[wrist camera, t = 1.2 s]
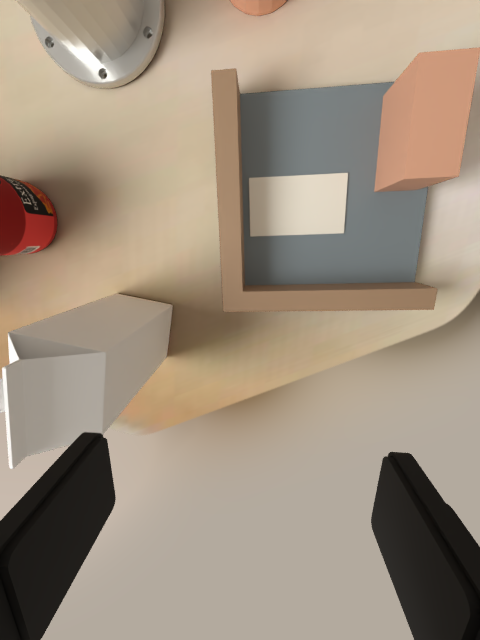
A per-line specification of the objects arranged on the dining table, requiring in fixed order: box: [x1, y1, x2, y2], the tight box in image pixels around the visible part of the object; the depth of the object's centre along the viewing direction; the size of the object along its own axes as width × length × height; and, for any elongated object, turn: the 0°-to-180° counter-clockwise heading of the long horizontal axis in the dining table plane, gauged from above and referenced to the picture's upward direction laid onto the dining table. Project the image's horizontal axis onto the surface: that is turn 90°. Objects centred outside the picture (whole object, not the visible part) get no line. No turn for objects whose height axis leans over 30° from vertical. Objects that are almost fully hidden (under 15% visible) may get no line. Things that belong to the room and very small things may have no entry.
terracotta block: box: [374, 48, 480, 192], centre depth 23 cm, size 8×4×6 cm, turn 2°
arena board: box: [211, 69, 437, 312], centre depth 27 cm, size 20×20×5 cm
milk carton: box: [0, 294, 173, 469], centre depth 25 cm, size 7×7×19 cm
